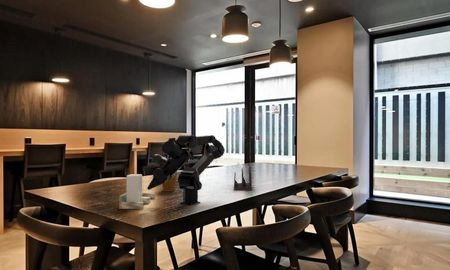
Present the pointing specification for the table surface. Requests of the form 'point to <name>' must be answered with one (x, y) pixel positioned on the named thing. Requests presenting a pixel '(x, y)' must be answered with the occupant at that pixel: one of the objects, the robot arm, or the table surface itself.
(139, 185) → the plug block
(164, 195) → the table surface
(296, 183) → the table surface
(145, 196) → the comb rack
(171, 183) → the disposable coffee cup
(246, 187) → the letter holder
